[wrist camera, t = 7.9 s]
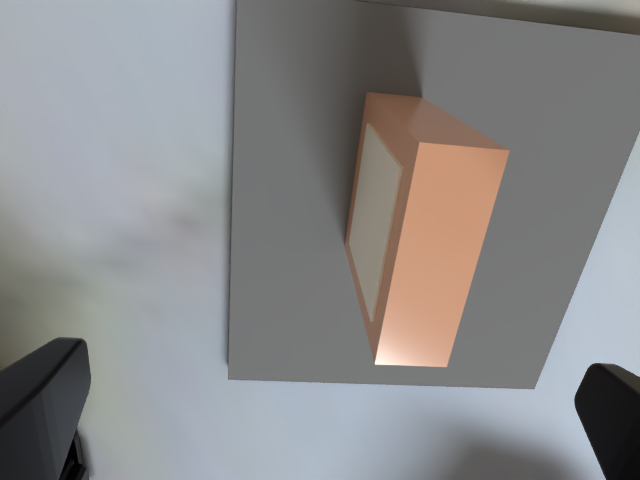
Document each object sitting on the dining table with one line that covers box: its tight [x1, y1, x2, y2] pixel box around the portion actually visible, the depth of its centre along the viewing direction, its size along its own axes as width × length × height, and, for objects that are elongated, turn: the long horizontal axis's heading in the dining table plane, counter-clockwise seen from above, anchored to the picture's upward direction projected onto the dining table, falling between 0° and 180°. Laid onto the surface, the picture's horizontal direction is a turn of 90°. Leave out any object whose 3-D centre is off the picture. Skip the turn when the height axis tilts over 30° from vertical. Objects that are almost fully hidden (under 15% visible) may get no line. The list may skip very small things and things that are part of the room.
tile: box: [344, 92, 510, 367], centre depth 14 cm, size 2×6×7 cm, turn 174°
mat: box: [228, 0, 640, 389], centre depth 19 cm, size 15×16×1 cm
